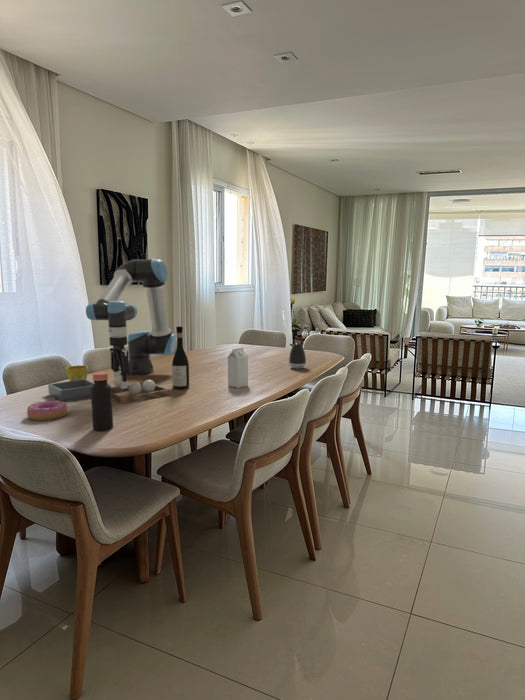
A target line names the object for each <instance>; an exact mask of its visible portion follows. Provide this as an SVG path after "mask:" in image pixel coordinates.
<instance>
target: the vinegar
mask: <svg viewBox="0 0 525 700" xmlns="http://www.w3.org/2000/svg"><path fill="white" fill-rule="evenodd" d="M108 379H109V375H108V372H105V371H98V372H94V373H92V380H93V382H94V385H93V386H92V387H91V397H90V399H91V414H92V416H91V417H92V429H93V430H94V431H95V432H105V431H109V430H112V429H113V427H114V417H113V415H114V414H113V400H112V395H111V387H112V386H111V385H110V384H109V383H108V381H109V380H108Z"/></svg>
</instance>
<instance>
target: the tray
mask: <svg viewBox="0 0 525 700" xmlns="http://www.w3.org/2000/svg"><path fill="white" fill-rule="evenodd" d="M139 383H140V384H141V386H142V385H143V382H139ZM129 385H130V384H127V388H125V389H121V388H118V387H116V386H111V395H112V401H115V402H117V403H119V404H128V403H133V402H138V401H143V400H144V401H146V400H150V399H155V398H160V397H166V396H171V389H170V388H166V387H164V386H160V385H158V384H155V389H154V391H152V392H144V393H139V394H137V395H133V394H131V395H128V396H121V395H119V394H116V393H119V392H121V391H122V392H127V391H126V390H128V387H129ZM128 391H129V390H128ZM122 392H121V393H122Z"/></svg>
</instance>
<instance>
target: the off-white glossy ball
mask: <svg viewBox="0 0 525 700" xmlns="http://www.w3.org/2000/svg"><path fill="white" fill-rule="evenodd" d="M113 378H114V377H113ZM128 381H129V380H128V379H127V383H128ZM113 384H114V387H118V388H121V379H120V375H118V376H116V377H115V378H114V379H113Z"/></svg>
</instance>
